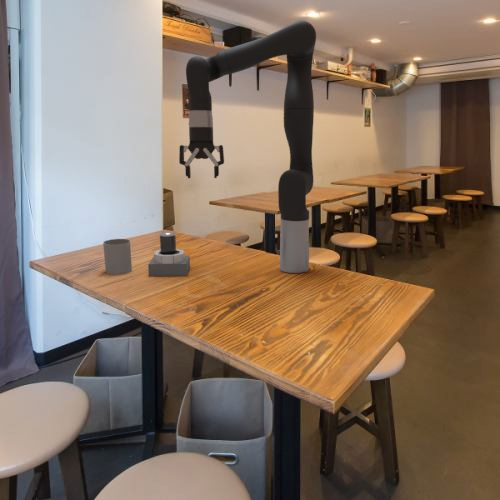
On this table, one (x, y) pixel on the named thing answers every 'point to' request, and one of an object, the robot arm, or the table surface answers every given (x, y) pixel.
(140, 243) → the table surface
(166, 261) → the grey block with ring
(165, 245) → the lens
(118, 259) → the cup
